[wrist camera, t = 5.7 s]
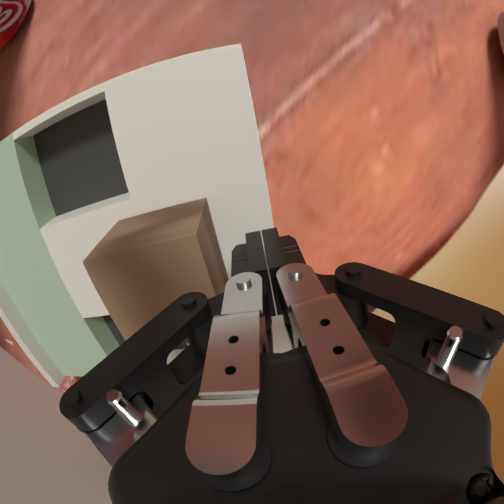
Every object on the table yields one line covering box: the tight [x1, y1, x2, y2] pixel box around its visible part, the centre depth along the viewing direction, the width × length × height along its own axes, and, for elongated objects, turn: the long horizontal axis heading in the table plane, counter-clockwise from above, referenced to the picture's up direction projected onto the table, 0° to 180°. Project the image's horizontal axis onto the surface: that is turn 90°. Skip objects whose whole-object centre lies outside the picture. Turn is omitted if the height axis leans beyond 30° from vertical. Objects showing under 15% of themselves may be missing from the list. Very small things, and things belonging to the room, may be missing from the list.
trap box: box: [0, 44, 291, 387], centre depth 15 cm, size 22×20×4 cm
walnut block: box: [83, 198, 229, 344], centre depth 13 cm, size 5×5×4 cm
